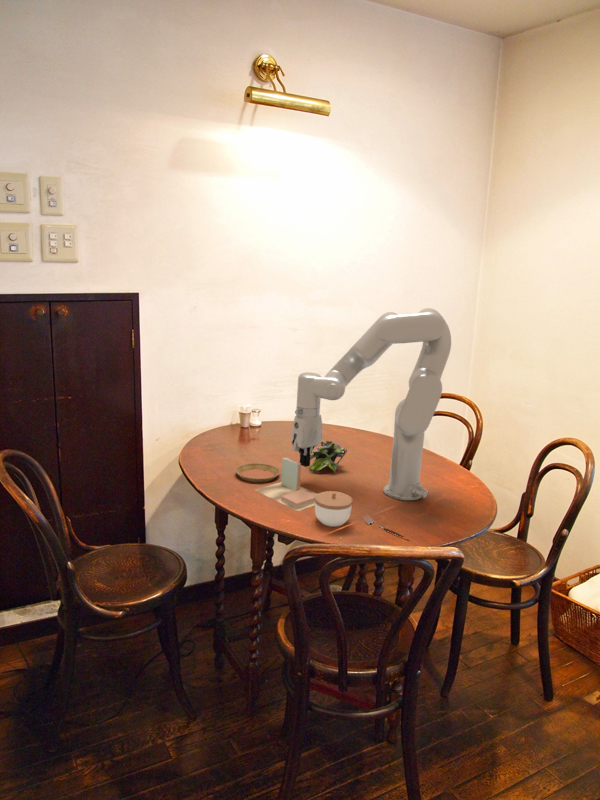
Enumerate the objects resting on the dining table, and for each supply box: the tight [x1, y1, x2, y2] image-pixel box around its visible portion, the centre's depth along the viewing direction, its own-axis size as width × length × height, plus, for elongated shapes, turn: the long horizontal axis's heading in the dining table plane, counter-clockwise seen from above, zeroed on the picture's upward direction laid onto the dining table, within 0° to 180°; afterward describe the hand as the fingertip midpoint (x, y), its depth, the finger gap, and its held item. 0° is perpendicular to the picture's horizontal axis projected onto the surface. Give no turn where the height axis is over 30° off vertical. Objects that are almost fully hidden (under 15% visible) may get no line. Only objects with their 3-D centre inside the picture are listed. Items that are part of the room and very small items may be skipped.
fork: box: [362, 514, 405, 538], centre depth 175 cm, size 3×16×2 cm, turn 44°
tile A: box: [281, 489, 316, 508], centre depth 190 cm, size 7×2×9 cm
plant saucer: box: [235, 462, 281, 483], centre depth 209 cm, size 15×15×3 cm
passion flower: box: [308, 440, 348, 475], centre depth 217 cm, size 13×12×14 cm
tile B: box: [280, 456, 302, 491], centre depth 200 cm, size 7×2×9 cm, turn 44°
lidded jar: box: [314, 490, 354, 528], centre depth 176 cm, size 11×11×9 cm
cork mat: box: [254, 481, 318, 512], centre depth 195 cm, size 20×14×1 cm
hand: (304, 465), depth 203 cm, fingers closed
